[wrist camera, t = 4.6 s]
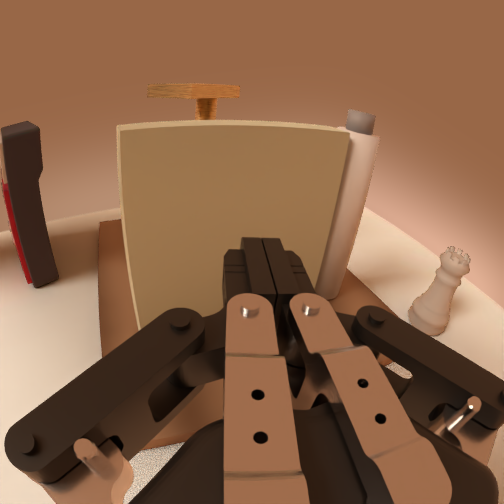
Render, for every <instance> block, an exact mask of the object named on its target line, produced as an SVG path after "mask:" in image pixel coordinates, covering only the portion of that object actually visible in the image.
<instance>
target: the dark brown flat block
mask: <svg viewBox="0 0 504 504" xmlns="http://www.w3.org/2000/svg"><path fill="white" fill-rule="evenodd" d="M40 142H41V141H40V129H39V127H38V126H36V125H34V124H32V123H30V122H29V121H25V122H21V123H17V124H14V125H10V126H7V127H3V128H1V133H0V161H1V176H2V182H1V186H2V192H3V197H4V202H5V204H6V208H7V213H8V217H9V221H8V223H9V228H10V232H12V233H11V235H12V240H13V244H14V245H16V248H17V252H18V255H19V258H20V262H21V265H22V268H23V271H24V274H25V277H26V280H27V282H28V284H30V283H33V285H34V287H35V288H37V287H40V286H42V285H44V284H47V283H49V282H52V281H54V280H57V279H58V278H59V275H58V272H57V268H56V265H55V261H54V257H53V253H52V249H51V245H50V241H49V237H48V232H47V227H46V223H45V218H44V213H43V207H42V201H41V195H40V189H39V182H38V181H39V177H40V175H41V172H42V170H43V164H42V153H41V143H40Z"/></svg>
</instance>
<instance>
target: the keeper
mask: <svg viewBox="0 0 504 504" xmlns="http://www.w3.org/2000/svg"><path fill="white" fill-rule="evenodd" d="M239 92H240V86H234V85H218V84H148V93H147V97H159V98H160V97H161V98H185V99H197V100H196V115H195V116H196V117H195V120H216V107H217V98H239Z"/></svg>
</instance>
